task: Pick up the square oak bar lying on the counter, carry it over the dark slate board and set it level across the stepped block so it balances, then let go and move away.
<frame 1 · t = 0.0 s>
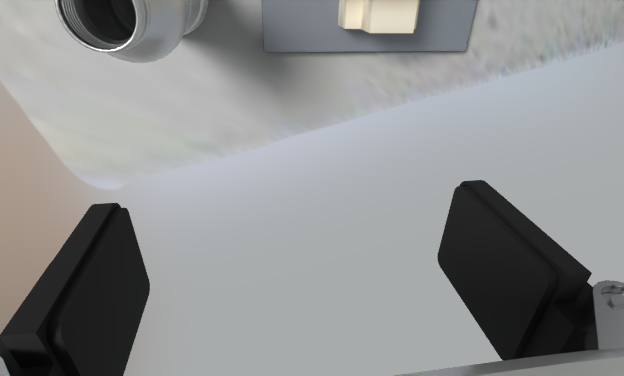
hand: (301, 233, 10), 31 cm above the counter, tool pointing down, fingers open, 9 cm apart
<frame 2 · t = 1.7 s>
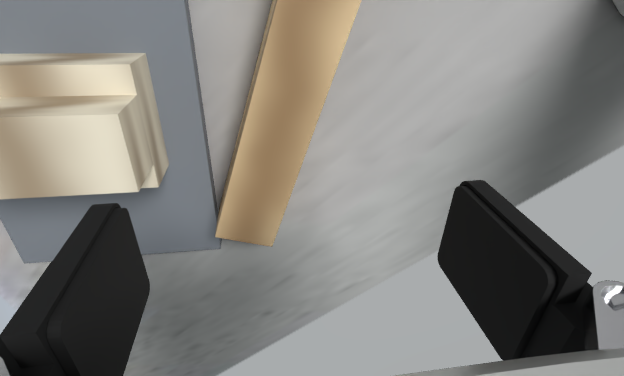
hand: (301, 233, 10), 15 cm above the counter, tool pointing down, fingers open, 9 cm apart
stepped block: (55, 134, 18), on the slate board, point 4 cm above the counter
oak bar: (281, 88, 23), on the counter
slate board: (87, 108, 22), on the counter
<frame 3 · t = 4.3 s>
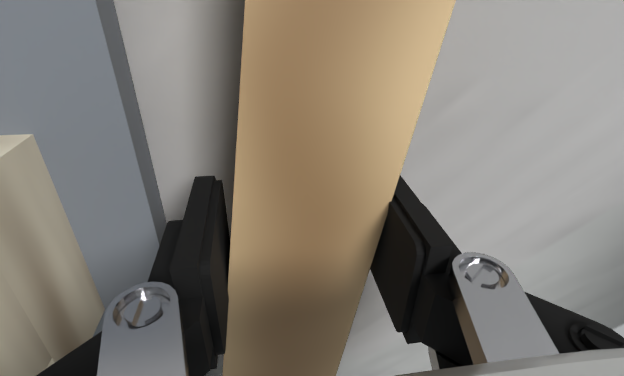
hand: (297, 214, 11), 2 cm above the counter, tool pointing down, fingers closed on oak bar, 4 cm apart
oak bar: (290, 181, 13), on the counter, touching gripper
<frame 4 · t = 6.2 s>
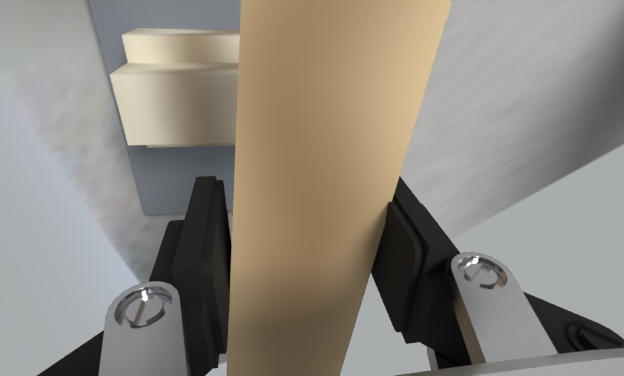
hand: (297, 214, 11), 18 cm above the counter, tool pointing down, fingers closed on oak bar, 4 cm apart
stepped block: (210, 95, 22), on the slate board, point 4 cm above the counter
oak bar: (291, 183, 13), point 16 cm above the counter, touching gripper
slate board: (216, 78, 26), on the counter
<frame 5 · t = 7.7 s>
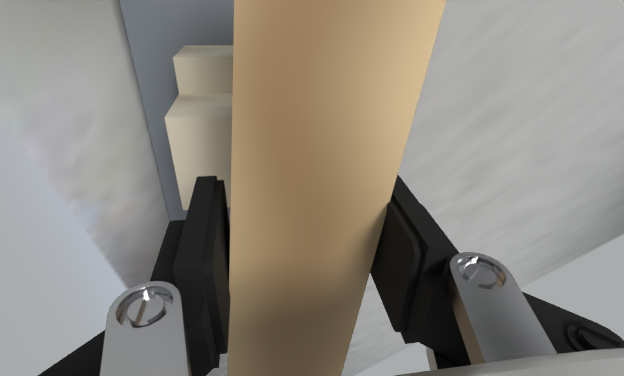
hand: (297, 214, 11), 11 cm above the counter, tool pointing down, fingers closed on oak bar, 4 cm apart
stepped block: (284, 133, 17), on the slate board, point 4 cm above the counter
oak bar: (290, 184, 13), point 9 cm above the counter, touching gripper
slate board: (279, 106, 20), on the counter
when the fingers open (10 cm above the counter, at t = 8.7 s): oak bar stays where it is, resting on stepped block.
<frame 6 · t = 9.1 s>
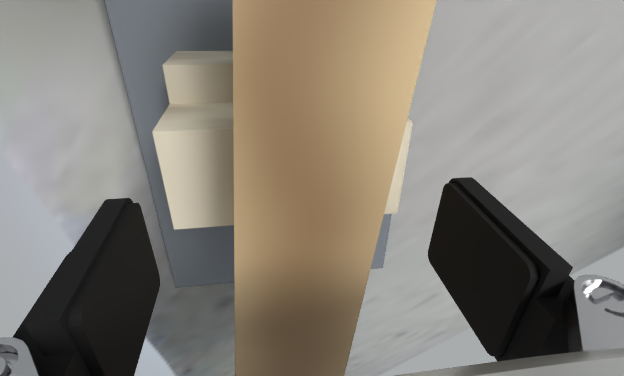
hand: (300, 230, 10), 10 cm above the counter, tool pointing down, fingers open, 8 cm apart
stepped block: (283, 145, 16), on the slate board, point 4 cm above the counter
oak bar: (292, 180, 13), point 7 cm above the counter, touching stepped block
slate board: (277, 114, 19), on the counter
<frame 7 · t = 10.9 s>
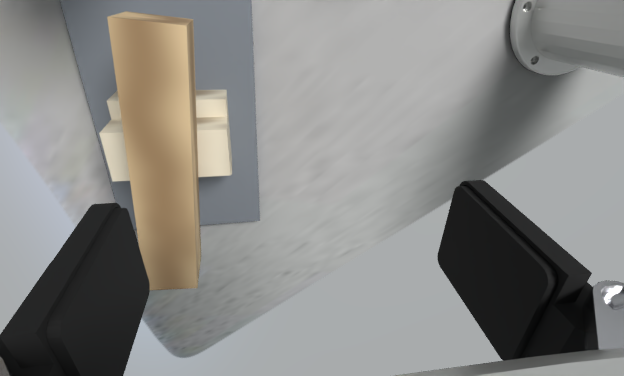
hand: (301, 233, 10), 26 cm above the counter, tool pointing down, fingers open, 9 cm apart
stepped block: (174, 140, 30), on the slate board, point 4 cm above the counter
oak bar: (170, 157, 27), point 7 cm above the counter, touching stepped block
slate board: (180, 123, 33), on the counter
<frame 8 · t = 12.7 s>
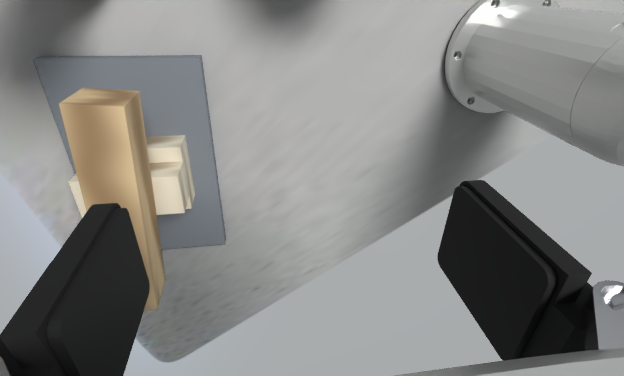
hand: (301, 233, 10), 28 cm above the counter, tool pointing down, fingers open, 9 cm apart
stepped block: (138, 182, 35), on the slate board, point 4 cm above the counter
oak bar: (131, 199, 32), point 7 cm above the counter, touching stepped block
slate board: (148, 163, 38), on the counter
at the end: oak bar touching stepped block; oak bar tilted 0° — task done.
